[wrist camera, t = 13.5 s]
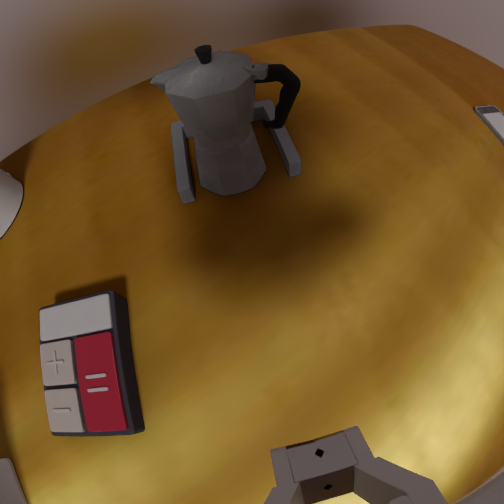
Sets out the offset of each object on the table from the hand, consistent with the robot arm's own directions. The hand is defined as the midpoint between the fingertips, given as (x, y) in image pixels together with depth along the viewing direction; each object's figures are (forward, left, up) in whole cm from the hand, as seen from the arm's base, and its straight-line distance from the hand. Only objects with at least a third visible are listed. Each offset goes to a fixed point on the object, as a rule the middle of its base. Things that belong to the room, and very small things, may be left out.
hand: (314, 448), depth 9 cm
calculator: (-20, +9, -20) cm, 30 cm away
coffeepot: (+1, +30, -20) cm, 36 cm away
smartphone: (+50, +28, -20) cm, 60 cm away
